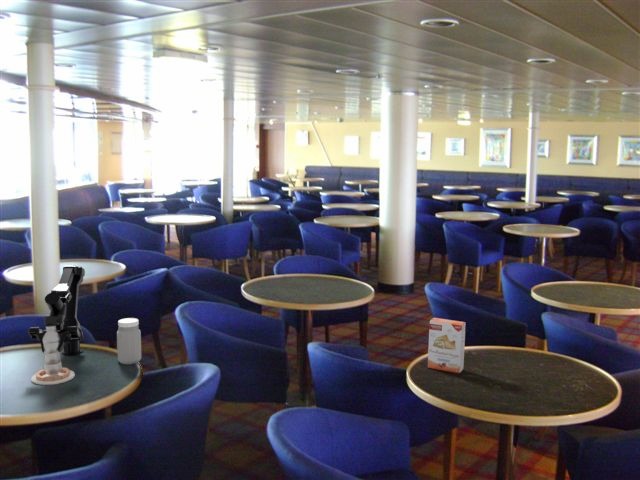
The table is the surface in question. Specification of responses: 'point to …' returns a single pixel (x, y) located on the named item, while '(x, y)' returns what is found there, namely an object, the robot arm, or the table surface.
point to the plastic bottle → (52, 350)
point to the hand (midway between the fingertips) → (51, 352)
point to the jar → (128, 341)
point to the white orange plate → (52, 377)
